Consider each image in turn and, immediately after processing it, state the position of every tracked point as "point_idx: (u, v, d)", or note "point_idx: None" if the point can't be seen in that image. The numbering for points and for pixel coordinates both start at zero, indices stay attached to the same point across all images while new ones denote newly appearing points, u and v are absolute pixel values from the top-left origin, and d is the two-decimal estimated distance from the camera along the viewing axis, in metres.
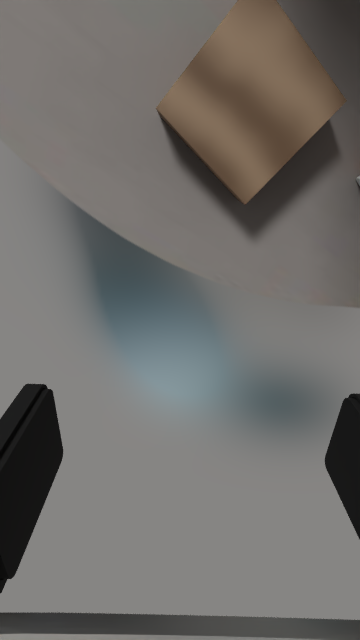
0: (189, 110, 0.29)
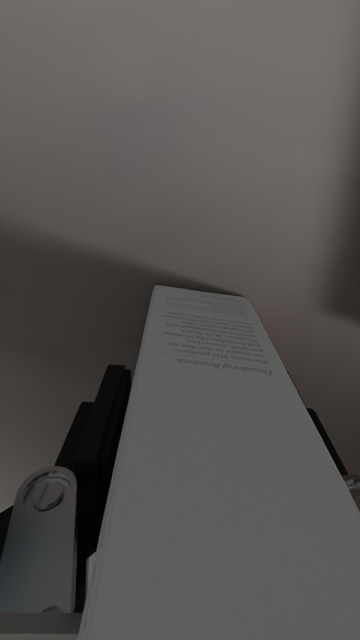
0: None
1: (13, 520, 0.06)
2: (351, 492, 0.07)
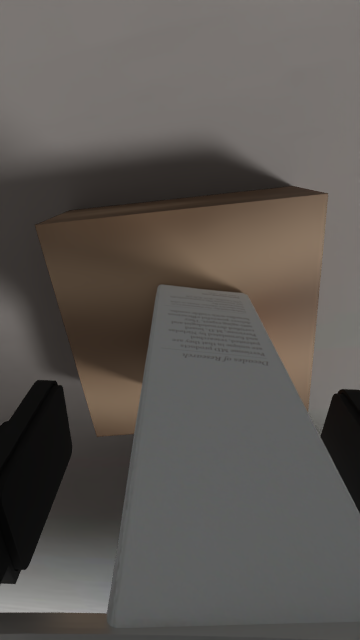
0: (268, 247, 0.14)
1: None
2: None
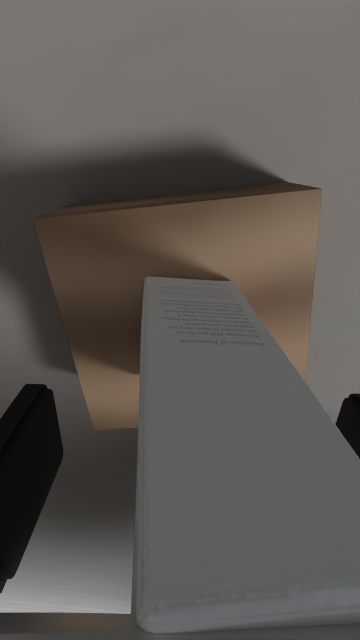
0: (263, 241, 0.14)
1: None
2: None
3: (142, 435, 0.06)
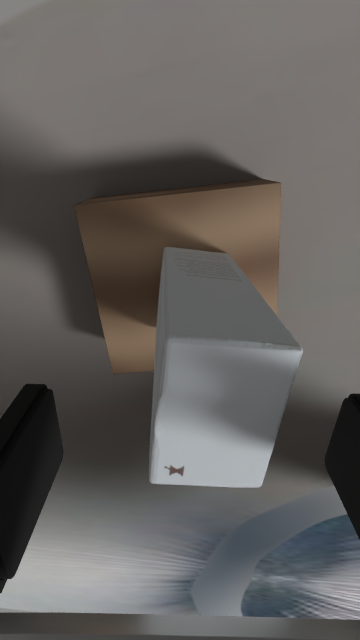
0: (240, 221, 0.19)
1: None
2: None
3: (164, 303, 0.11)
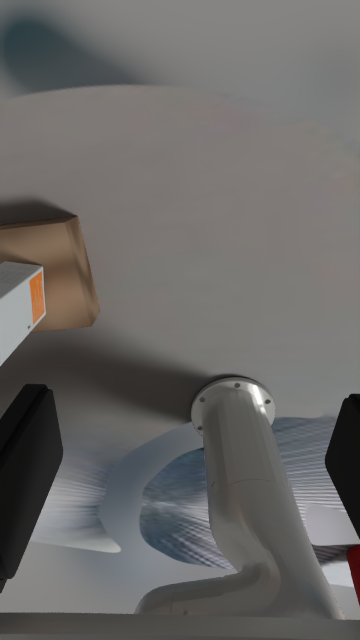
0: (47, 243, 0.34)
1: None
2: None
3: None
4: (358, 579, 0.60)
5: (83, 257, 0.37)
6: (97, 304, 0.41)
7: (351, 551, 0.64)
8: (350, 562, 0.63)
